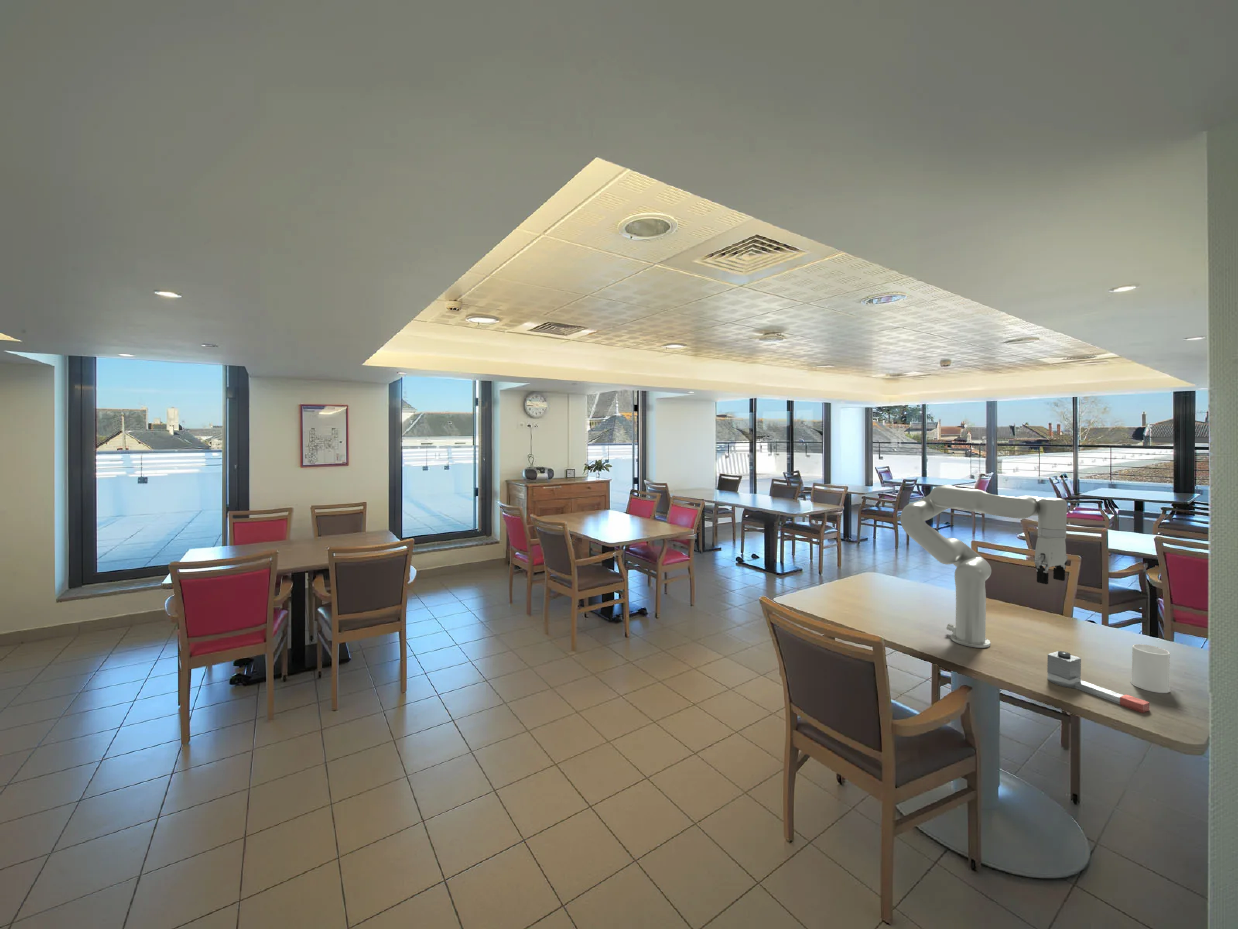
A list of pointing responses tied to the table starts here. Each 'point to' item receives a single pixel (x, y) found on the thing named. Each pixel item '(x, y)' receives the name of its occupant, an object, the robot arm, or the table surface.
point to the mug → (1150, 668)
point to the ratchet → (1102, 693)
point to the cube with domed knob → (1064, 665)
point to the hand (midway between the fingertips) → (1050, 581)
